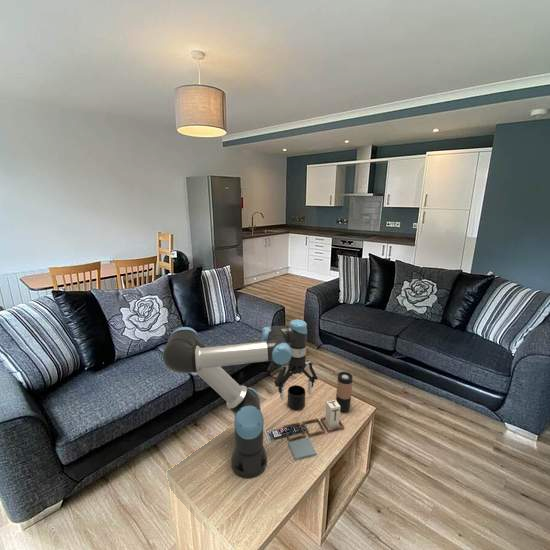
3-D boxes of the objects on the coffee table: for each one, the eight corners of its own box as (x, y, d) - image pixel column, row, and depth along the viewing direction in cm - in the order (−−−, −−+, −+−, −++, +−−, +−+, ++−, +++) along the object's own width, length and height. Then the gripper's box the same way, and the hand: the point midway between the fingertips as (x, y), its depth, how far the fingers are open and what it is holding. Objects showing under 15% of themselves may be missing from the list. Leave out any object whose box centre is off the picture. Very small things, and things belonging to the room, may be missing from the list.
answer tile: (295, 460, 124) (295, 458, 124) (288, 444, 133) (288, 442, 132) (316, 455, 127) (316, 453, 127) (308, 439, 136) (308, 437, 135)
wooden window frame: (308, 437, 137) (308, 434, 137) (302, 424, 145) (302, 421, 144) (325, 433, 139) (325, 430, 139) (317, 420, 147) (317, 418, 147)
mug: (311, 403, 160) (312, 388, 158) (296, 413, 152) (297, 398, 150) (298, 395, 167) (299, 381, 164) (283, 404, 159) (284, 390, 156)
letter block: (329, 429, 142) (331, 408, 139) (325, 422, 146) (326, 401, 144) (338, 427, 143) (340, 406, 140) (333, 420, 148) (335, 399, 145)
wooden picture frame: (288, 441, 134) (288, 438, 134) (283, 428, 142) (283, 425, 142) (305, 437, 136) (306, 435, 136) (299, 424, 144) (299, 422, 144)
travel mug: (334, 403, 160) (336, 371, 155) (348, 404, 160) (351, 371, 155) (336, 413, 153) (339, 379, 148) (351, 413, 152) (354, 380, 148)
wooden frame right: (328, 432, 140) (328, 430, 139) (320, 420, 148) (320, 417, 147) (343, 429, 142) (343, 426, 142) (335, 417, 150) (335, 414, 150)
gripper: (272, 362, 122) (272, 405, 127) (326, 354, 129) (323, 395, 134) (268, 353, 129) (267, 395, 134) (319, 346, 136) (317, 386, 141)
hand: (295, 395), depth 134 cm, fingers open, 13 cm apart
